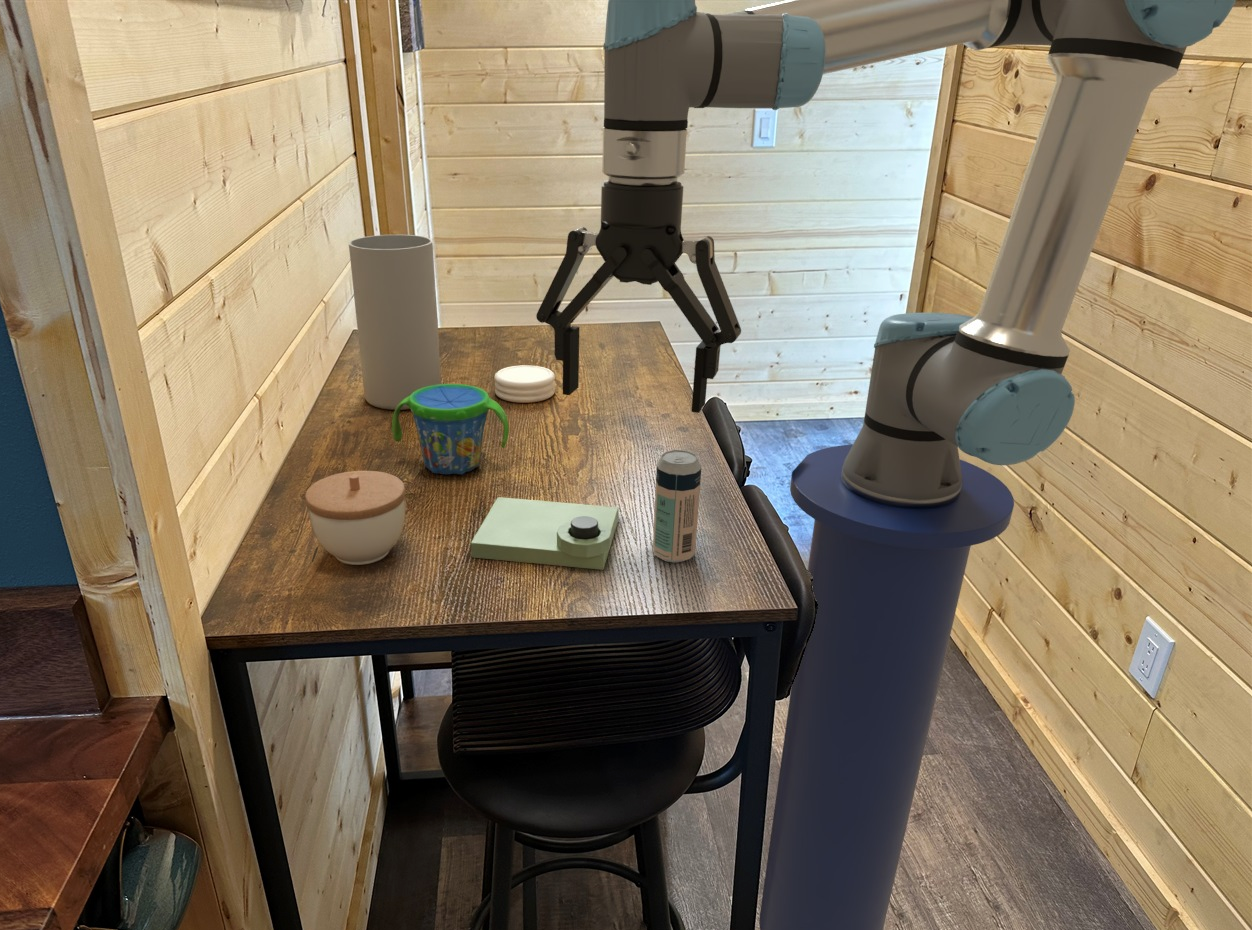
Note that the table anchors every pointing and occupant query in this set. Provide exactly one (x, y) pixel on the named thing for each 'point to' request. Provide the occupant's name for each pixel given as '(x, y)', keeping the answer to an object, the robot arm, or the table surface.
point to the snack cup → (450, 425)
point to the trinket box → (357, 514)
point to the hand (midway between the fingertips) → (633, 399)
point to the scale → (544, 533)
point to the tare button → (584, 527)
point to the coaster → (524, 383)
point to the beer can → (676, 505)
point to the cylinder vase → (395, 316)
